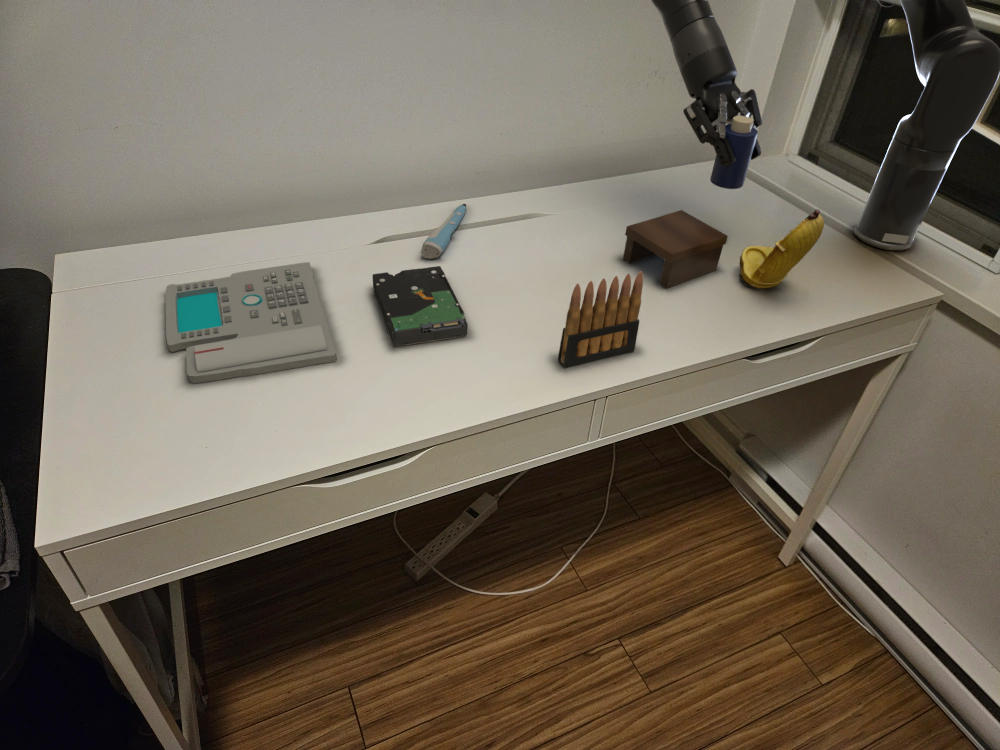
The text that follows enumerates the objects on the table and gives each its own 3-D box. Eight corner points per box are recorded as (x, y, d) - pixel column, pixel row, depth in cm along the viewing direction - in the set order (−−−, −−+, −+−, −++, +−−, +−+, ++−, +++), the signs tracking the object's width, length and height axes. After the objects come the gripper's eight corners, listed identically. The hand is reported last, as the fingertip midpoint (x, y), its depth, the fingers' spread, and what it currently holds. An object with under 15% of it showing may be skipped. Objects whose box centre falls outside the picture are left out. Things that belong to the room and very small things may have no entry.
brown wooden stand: (673, 242, 117) (681, 209, 113) (718, 269, 110) (728, 235, 107) (620, 260, 111) (626, 226, 107) (664, 289, 105) (672, 254, 101)
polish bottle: (725, 173, 113) (741, 111, 107) (750, 185, 110) (768, 121, 104) (703, 179, 111) (718, 116, 105) (727, 191, 108) (745, 127, 101)
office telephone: (337, 345, 86) (164, 375, 80) (339, 362, 88) (169, 392, 82) (308, 253, 103) (162, 273, 97) (310, 269, 105) (167, 289, 98)
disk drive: (371, 290, 101) (393, 349, 90) (370, 273, 99) (392, 331, 89) (440, 281, 104) (469, 336, 93) (440, 264, 102) (469, 319, 92)
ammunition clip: (627, 343, 94) (643, 266, 86) (634, 351, 93) (651, 273, 85) (557, 360, 90) (567, 281, 83) (563, 368, 89) (574, 289, 81)
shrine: (811, 301, 104) (848, 209, 95) (766, 309, 102) (798, 215, 93) (766, 263, 113) (796, 175, 103) (723, 269, 110) (749, 180, 101)
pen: (439, 262, 108) (439, 246, 106) (419, 259, 108) (419, 242, 107) (472, 209, 123) (473, 194, 121) (455, 206, 123) (455, 191, 121)
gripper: (686, 49, 100) (728, 159, 100) (752, 38, 107) (792, 142, 107) (653, 77, 107) (693, 180, 107) (718, 66, 113) (755, 163, 113)
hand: (742, 160), depth 107 cm, fingers closed on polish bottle, 5 cm apart
